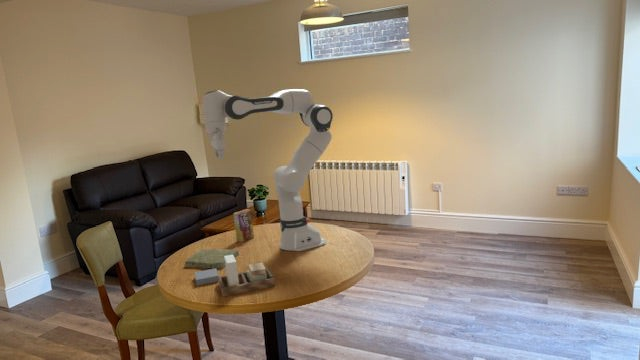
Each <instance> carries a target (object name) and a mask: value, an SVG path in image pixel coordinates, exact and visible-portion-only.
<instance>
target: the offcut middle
mask: <svg viewBox="0 0 640 360" xmlns="http://www.w3.org/2000/svg"><path fill="white" fill-rule="evenodd" d="M246 272H247V277H248V278H249V279H250V281H251V282H255V281H260V280H265V279H267V274H266V275H261V276H255V277H252V276H251V273H250V271H249V269H248V270H246ZM249 279H248V280H249ZM250 281H249V282H250Z"/></svg>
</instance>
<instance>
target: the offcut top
mask: <svg viewBox="0 0 640 360" xmlns="http://www.w3.org/2000/svg"><path fill="white" fill-rule="evenodd" d="M265 268H266V266H265V265H264V262H262V261H261V262H258V263H257V262H255V263H249V264H248V270H249V271H250V273H251V276H252V277H255V276H261V275H266V269H265Z"/></svg>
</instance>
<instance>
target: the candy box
mask: <svg viewBox="0 0 640 360" xmlns="http://www.w3.org/2000/svg"><path fill="white" fill-rule="evenodd" d="M232 216H233V221H234V228H235V229H234V230H235V235H236V241H237V242H240V243H243V242H245V241H248V240H250V239H253V238H255V233H254V232H255V231H254V227H253V226H254V225H253V219H252V211H251V209H247V208H246V209H242V210H240V211H235V212H234V213H233V214H232Z"/></svg>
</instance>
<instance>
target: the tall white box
mask: <svg viewBox="0 0 640 360" xmlns="http://www.w3.org/2000/svg"><path fill="white" fill-rule="evenodd" d="M224 259H225V273H226V274H225V276H227V287H230V286H235V285H240V281H239V280H238V273H239V272H238V266H237V265H238V264H237V260H236V258H234V256H233V255H227V256H224Z"/></svg>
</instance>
